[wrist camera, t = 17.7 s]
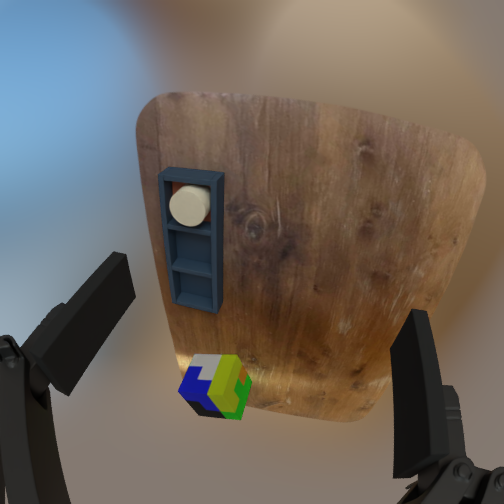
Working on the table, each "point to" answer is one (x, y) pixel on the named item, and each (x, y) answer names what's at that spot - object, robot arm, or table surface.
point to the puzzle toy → (216, 386)
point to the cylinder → (191, 204)
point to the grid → (194, 242)
